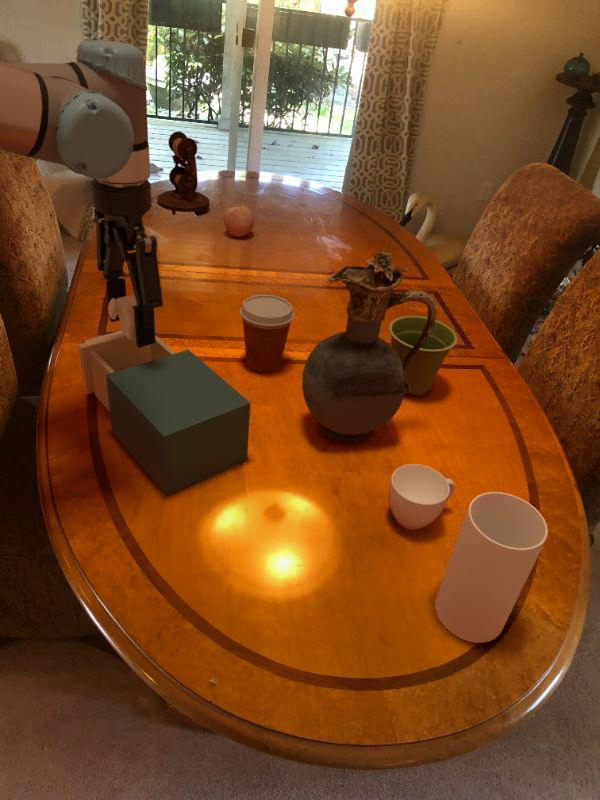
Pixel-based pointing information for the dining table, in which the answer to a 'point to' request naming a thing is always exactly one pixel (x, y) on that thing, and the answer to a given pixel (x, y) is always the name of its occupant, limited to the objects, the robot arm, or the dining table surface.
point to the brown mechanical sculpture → (183, 178)
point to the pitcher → (362, 356)
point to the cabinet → (178, 419)
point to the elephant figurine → (124, 314)
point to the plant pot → (421, 350)
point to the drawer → (114, 359)
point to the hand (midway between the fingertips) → (132, 331)
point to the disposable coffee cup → (265, 331)
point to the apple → (238, 220)
